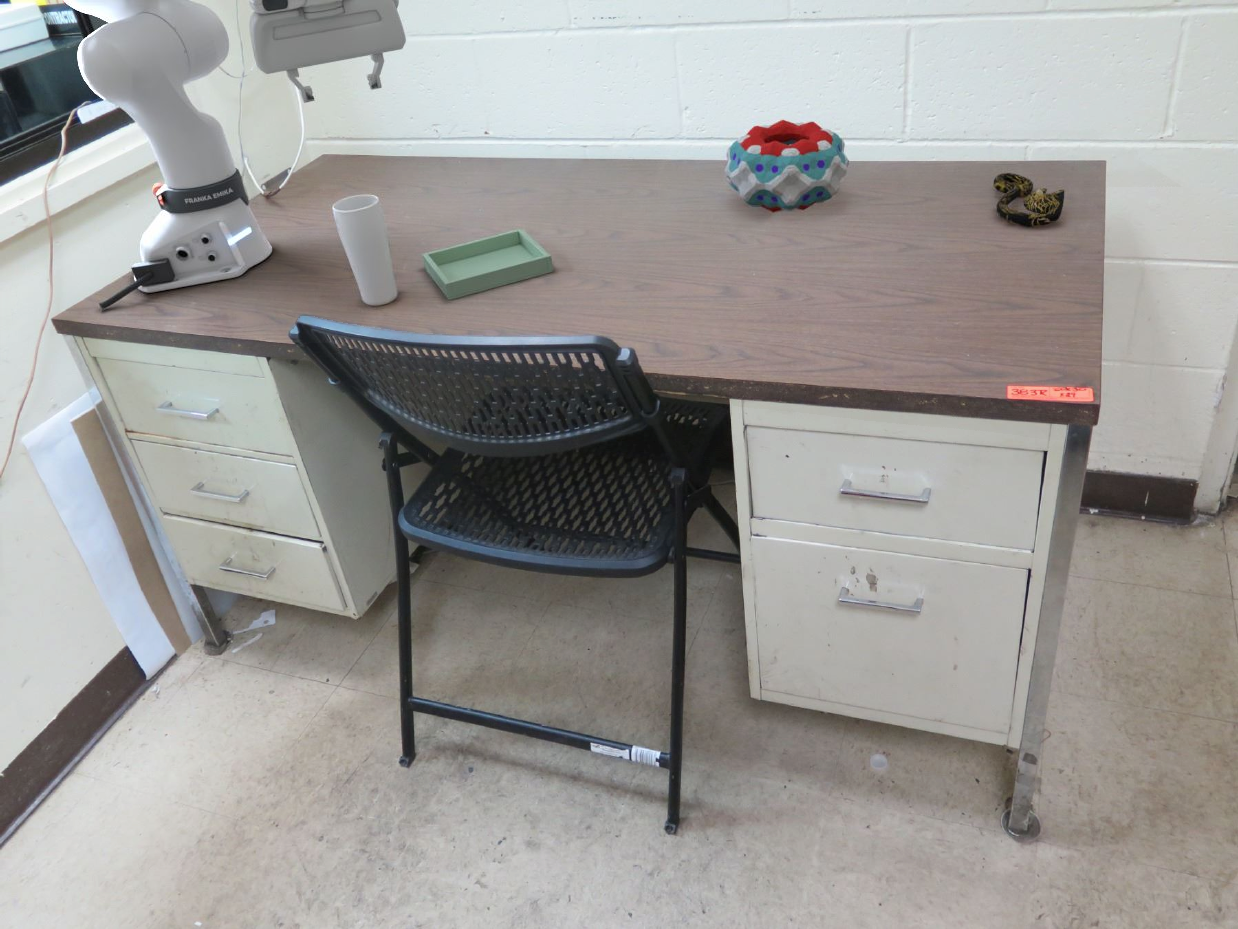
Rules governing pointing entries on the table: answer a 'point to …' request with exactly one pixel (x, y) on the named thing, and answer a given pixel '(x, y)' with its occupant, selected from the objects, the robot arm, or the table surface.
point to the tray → (487, 263)
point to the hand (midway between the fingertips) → (342, 94)
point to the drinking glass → (367, 247)
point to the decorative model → (786, 165)
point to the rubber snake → (1027, 201)
